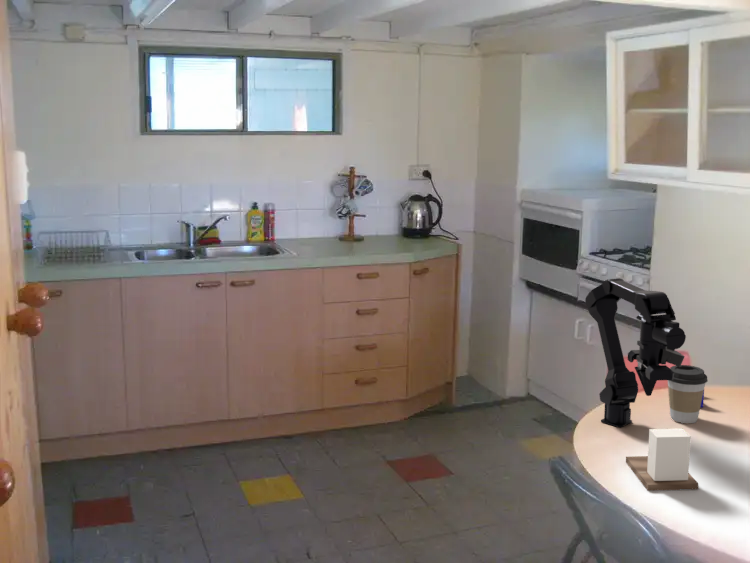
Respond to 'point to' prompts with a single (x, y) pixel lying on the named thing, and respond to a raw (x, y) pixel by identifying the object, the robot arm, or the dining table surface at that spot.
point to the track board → (640, 470)
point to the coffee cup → (686, 393)
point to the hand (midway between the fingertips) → (648, 395)
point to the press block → (668, 454)
